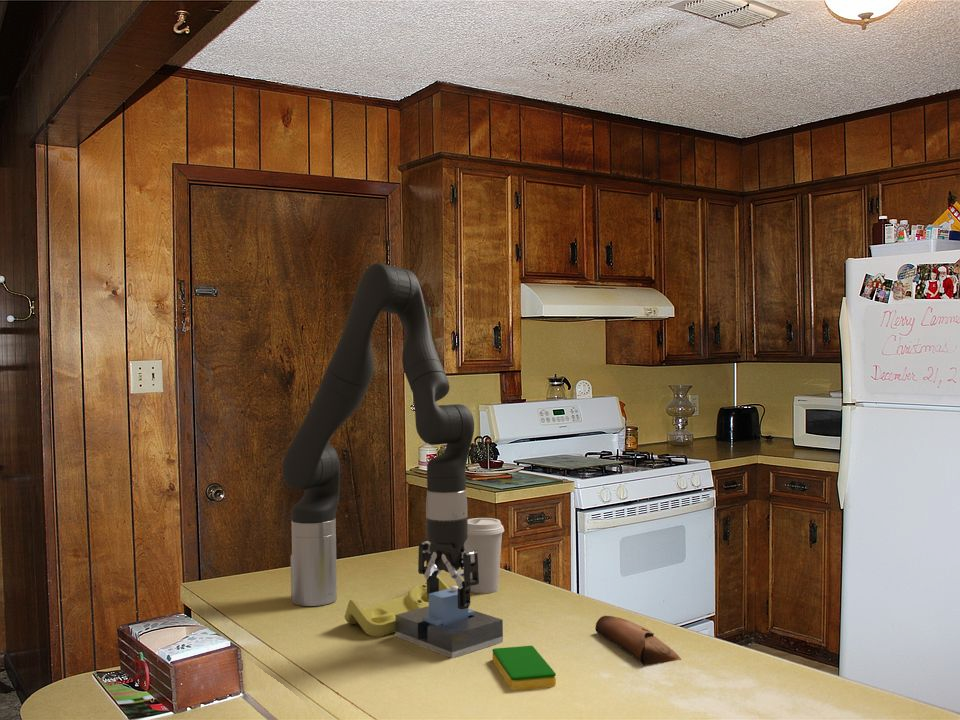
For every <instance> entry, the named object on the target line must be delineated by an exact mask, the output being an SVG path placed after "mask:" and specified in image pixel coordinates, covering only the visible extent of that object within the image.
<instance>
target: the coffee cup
mask: <svg viewBox="0 0 960 720" xmlns="http://www.w3.org/2000/svg"><path fill="white" fill-rule="evenodd" d="M504 532H505V528H504V525H502V522H501V520H500V519H498V518H491V517H476V518H474V517H473V518H468V538H467V540H466V541H465V543H464V548H465V551H466V552H472V551H476V552H477V555H478V573H479V584H478V585H474V586H471V588H470V593H473V592H474V594H491V592H492V593H495V591H496V592H498V590H499V582H500V581H499V580H500V568H501V567H500V566H501V554H502V552H501V551H502V541H503V539H502V538H503V533H504ZM470 579H472V572H471V573H470Z"/></svg>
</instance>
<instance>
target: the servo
mask: <svg viewBox="0 0 960 720" xmlns="http://www.w3.org/2000/svg"><path fill="white" fill-rule="evenodd" d="M449 588H450V589H446V590H442V591H438V592H434V593H430V594H429V615H428V616H425V617H422V618H423V621H426V622H429V626H431V625H447V624H450V623H454V622H457V621H461V620H464V619H468V616H471V615H474V611H475V610H473V609H470V608H469V607H468V608H466V609H459V608H458V586H457V585H451V586H450V587H449ZM469 609H470V610H469ZM472 610H473V611H472Z"/></svg>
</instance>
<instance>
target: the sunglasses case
mask: <svg viewBox="0 0 960 720" xmlns="http://www.w3.org/2000/svg"><path fill="white" fill-rule="evenodd" d="M595 632H596V633H598V634H599V635H601V636H603V637H604V638H606V639H608V640H610V641H611V642H613V643H614V644H615V645H617V647H619V648H621V649H622V650H623V651H624V652H626V653H628V654H629V655H630V656H631V657H633V658H634V659H636V661H638V662H640V664H642V665H643V666H648V665H649V666H650V665H657V664H662V663H663V664H664V663H667V662H674V661H681V660H682V658H681V657H680V656H679V654H677V652H676V651H674V649H672V648H671V647H670V646H669V645H667V644H666V643H664V642H663V640H661V639H660V638H658V637H656V636H655V633H654V632H652V631H651V630H649V629H648V628H646V627H644V626H642V625H639V624H637V623H635V622H632V621H630V620H627V619H625V618H622V617H617V616H613V615H603V616H601V617H599V618H598V619H597V621H596V623H595Z"/></svg>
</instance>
